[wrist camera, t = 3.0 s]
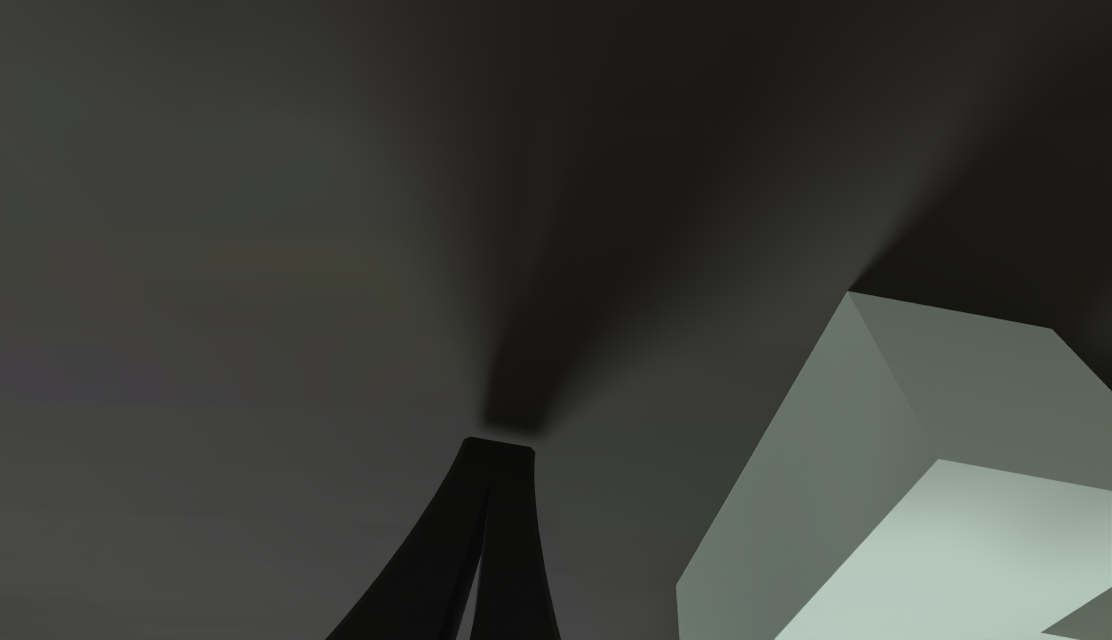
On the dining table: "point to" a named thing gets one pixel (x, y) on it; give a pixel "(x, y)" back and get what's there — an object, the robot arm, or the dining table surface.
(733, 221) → the dining table surface
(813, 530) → the tee
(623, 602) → the dining table surface
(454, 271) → the dining table surface
